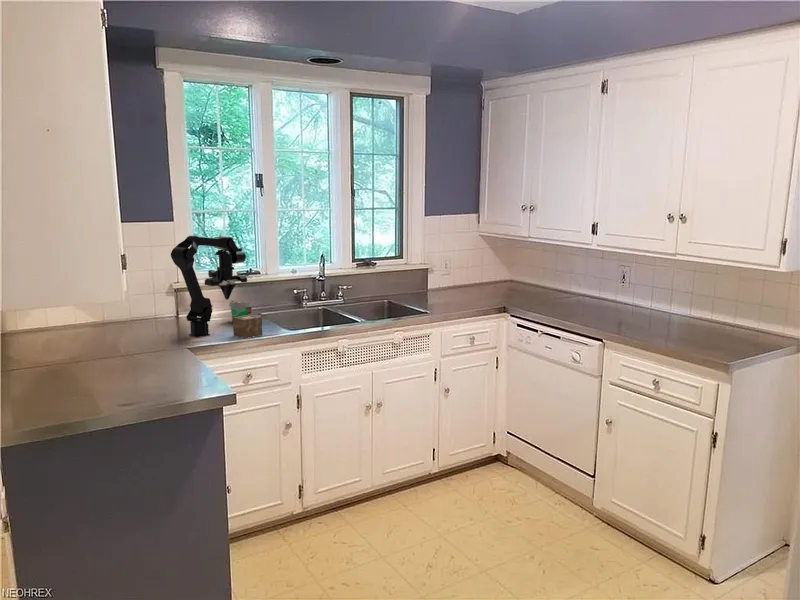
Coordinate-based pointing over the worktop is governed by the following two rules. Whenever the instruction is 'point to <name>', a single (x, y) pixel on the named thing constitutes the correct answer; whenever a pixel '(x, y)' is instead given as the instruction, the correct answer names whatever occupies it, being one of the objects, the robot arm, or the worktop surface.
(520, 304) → the worktop surface
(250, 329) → the walnut block
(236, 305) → the food container
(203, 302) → the robot arm
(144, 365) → the worktop surface
